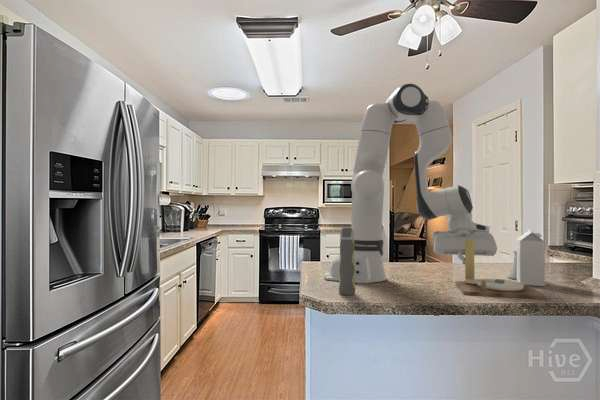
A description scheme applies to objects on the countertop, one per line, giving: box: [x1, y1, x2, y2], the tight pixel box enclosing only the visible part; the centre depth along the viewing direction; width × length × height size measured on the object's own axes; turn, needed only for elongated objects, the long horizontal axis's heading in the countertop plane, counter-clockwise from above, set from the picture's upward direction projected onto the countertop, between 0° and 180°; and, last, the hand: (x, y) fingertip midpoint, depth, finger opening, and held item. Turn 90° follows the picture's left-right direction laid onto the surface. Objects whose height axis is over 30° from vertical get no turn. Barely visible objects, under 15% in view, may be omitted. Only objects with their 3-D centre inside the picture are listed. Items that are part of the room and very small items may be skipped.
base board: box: [454, 280, 547, 300], centre depth 117 cm, size 22×16×4 cm
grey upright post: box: [338, 226, 356, 296], centre depth 112 cm, size 5×5×20 cm
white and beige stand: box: [464, 239, 524, 291], centre depth 119 cm, size 17×13×14 cm
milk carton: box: [516, 227, 546, 287], centre depth 128 cm, size 7×7×19 cm
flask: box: [506, 250, 517, 281], centre depth 137 cm, size 7×7×10 cm
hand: (466, 263), depth 125 cm, fingers closed, pressing on white and beige stand
